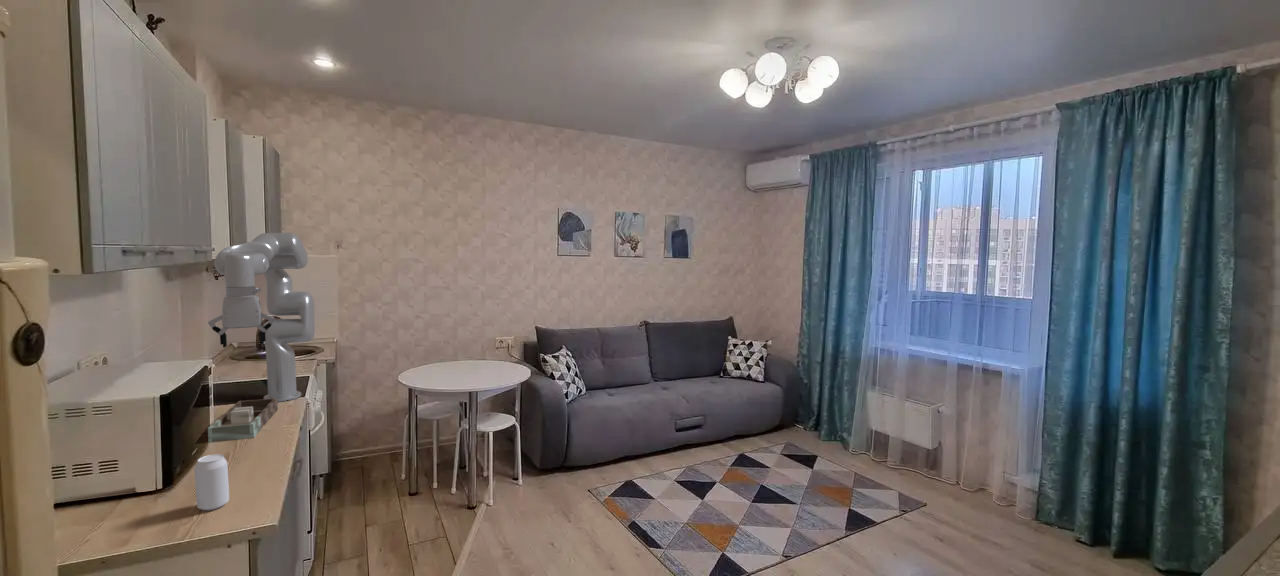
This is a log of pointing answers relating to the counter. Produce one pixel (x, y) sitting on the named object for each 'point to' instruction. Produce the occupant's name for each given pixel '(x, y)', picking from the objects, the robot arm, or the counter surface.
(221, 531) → the counter surface
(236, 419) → the block
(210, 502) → the beverage can
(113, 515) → the counter surface
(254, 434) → the box
